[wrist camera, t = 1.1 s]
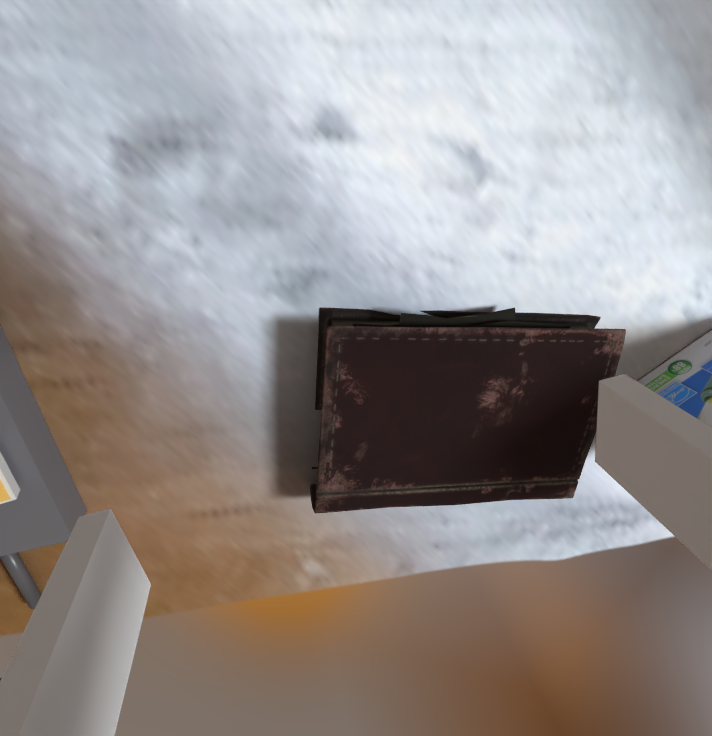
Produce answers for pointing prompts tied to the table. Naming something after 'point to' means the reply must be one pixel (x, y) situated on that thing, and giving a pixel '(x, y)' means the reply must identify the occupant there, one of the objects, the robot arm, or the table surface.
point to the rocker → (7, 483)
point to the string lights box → (687, 379)
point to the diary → (455, 406)
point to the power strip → (31, 478)
